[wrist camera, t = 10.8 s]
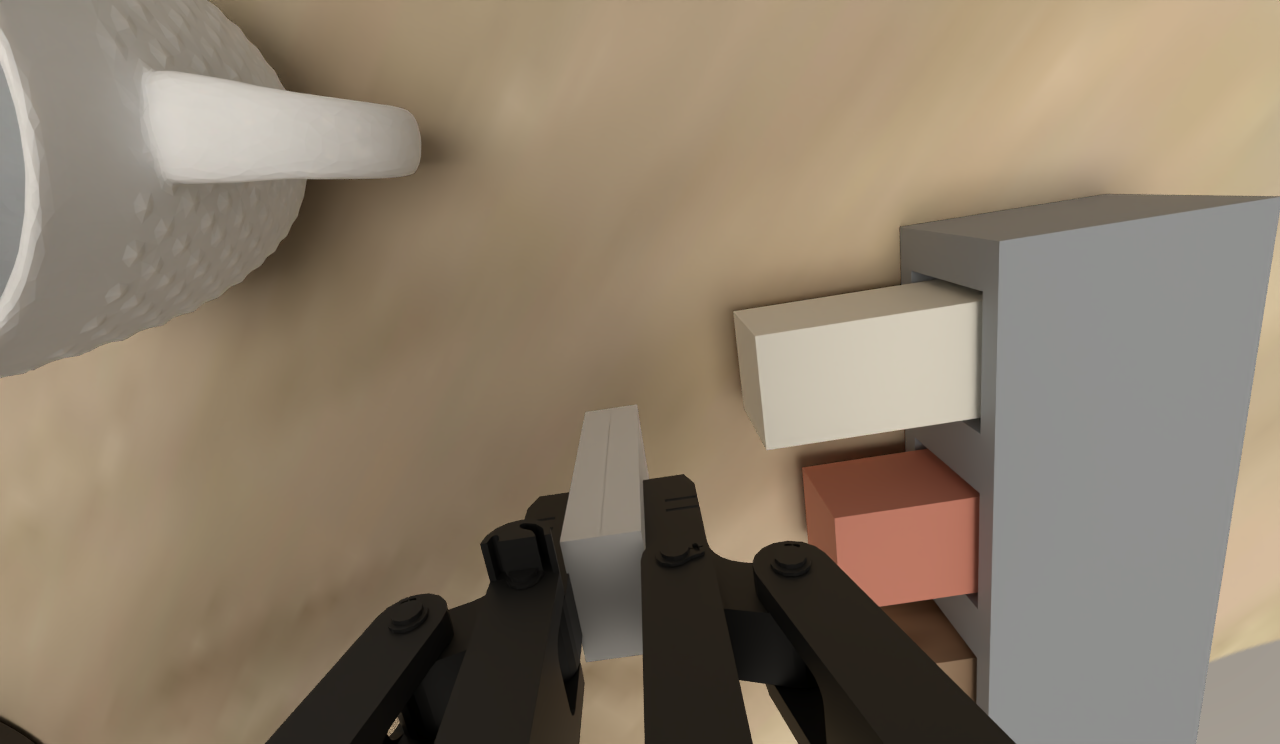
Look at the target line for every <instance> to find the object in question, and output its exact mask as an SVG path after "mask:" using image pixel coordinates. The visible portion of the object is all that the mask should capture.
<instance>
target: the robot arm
mask: <svg viewBox="0 0 1280 744" xmlns="http://www.w3.org/2000/svg"><path fill="white" fill-rule="evenodd" d="M480 545H481V549H482V553H483V557H484V560H485V564H486V568H487V572H488V575H489V579H490V584H489V587H488V590H487V593H486V595H485V596H483V597H481V598H479V599H477V600H474V601H472V602H470V603H467V604H464V605H461V606H458V607H455V608H453V609H450V610H448V607H447V604H446V601H445V600H444V599H443V598H442V597H441V596H439V595H434V594H421V595H415V596H411V597H409V598H408V597H407V598H405V599H402V600H400V601H399V602H397V603H395V604H394V605H392V606H390V607H388V608H387V609H386V610H385V611H384V612H382V613H381V614H380V615H379V616H378V617H377V618H376V619H375V620H374V621H373V622H372V624H371V625H370V626H369V627H368V628H367V629H366V630H365V631H364V633H363V634H362V635H361V636H360V637H359V638H358V639H357V640H356V642H355V643H354V644H353V645H352V646H351V647H350V648H349V649H348V651H347V652H346V653H345V654H344V655H343V656H342V657H341V659H340V660H339V661H338V662H337V663H336V664H335V665H334V666H333V668H332V669H331V670H330V671H329V672H328V673H327V674H326V675H325V677H324V678H323V679H322V680H321V681H320V682H319V683H318V684H317V686H316V687H315V688H314V689H313V690H312V691H311V692H310V693H309V695H308V696H307V697H306V698H305V699H304V700H303V701H302V702H301V704H300V705H299V706H298V707H297V708H296V709H295V710H294V712H293V713H292V714H291V715H290V716H289V717H288V718H287V719H286V721H285V722H284V723H283V724H282V725H281V726H280V727H279V728H278V730H277V731H276V732H275V733H274V734H273V735H272V736H271V737H270V739H269V740H268V741H267V742H266V743H265V744H579V740H580V729H581V718H582V706H583V695H584V684H585V683H584V677H583V672H582V668H581V663H580V655H581V645H582V646H583V650H584V655H585V659H586V662H591V661H599V660H606V659H613V658H621V657H628V656H635V655H643V685H644V728H645V744H753V743H752V738H751V733H750V729H749V724H748V720H747V715H746V710H745V706H744V701H743V697H742V692H741V687H740V683H739V680H743V681H750V682H757V683H764V684H766V686H767V689H768V692H769V695H770V697H771V698H772V700H773V702H774V703H775V705H776V707H777V708H778V710H779V712H780V714H781V715H782V717H783V719H784V720H785V722H786V724H787V725H788V727H789V729H790V730H791V732H792V734H793V735H794V737H795V739H796V740H797V742H798V744H1016V743H1015V742H1014V741H1013V740H1012V739H1011V738H1010V737H1009V736H1008V735H1007V734H1006V733H1005V732H1004V731H1003V730H1002V729H1001V728H1000V727H999V726H998V725H997V724H996V723H995V722H994V721H993V720H992V719H991V718H990V717H989V716H988V715H987V714H986V713H985V712H984V711H983V710H982V709H981V708H980V707H979V706H978V705H977V704H976V703H975V702H974V701H973V700H972V699H971V698H970V697H969V696H968V695H967V694H966V693H965V692H964V691H963V690H962V689H961V688H960V687H959V686H958V685H957V684H956V683H955V682H954V681H953V680H952V679H951V678H950V677H949V676H948V675H947V674H946V673H945V672H944V671H943V670H942V669H941V668H940V667H939V666H938V665H937V664H936V663H935V662H934V661H933V660H932V659H931V658H930V657H929V656H928V655H927V654H926V653H925V652H924V651H923V650H922V649H921V648H920V647H919V646H918V645H917V644H916V643H915V642H914V641H913V640H912V639H911V638H910V637H909V636H908V635H907V634H906V633H905V632H904V631H903V630H902V629H901V628H900V627H899V626H898V625H897V624H896V623H895V622H894V621H893V620H892V619H891V618H890V617H889V616H888V615H887V614H886V613H885V612H884V611H883V610H882V609H881V608H880V607H879V606H878V605H877V604H876V603H875V602H874V601H873V600H872V599H871V598H870V597H869V596H868V595H867V594H866V593H865V592H864V591H863V590H862V589H861V588H860V587H859V586H858V585H857V584H856V583H855V582H854V581H853V580H852V579H851V578H850V577H849V576H848V575H847V574H846V573H845V572H844V571H843V570H842V569H841V568H840V567H839V566H838V565H837V564H836V563H835V562H834V561H833V560H832V559H831V558H830V557H829V556H828V555H827V554H826V553H825V552H823V551H822V550H820V549H819V548H817V547H816V546H814V545H810V544H807V543H804V542H796V541H784V542H778V543H773V544H771V545H769V546H766V547H764V548H762V549H761V550H760V551H759V552H758V553H757V554H756V555H755V557H754V560H753V563H744V562H737V561H731V560H728V559H725V558H722V557H720V556H719V555H717V554H715V553H714V552H713V551H712V550H711V549H710V548H709V545H708V543H707V539H706V535H705V530H704V526H703V521H702V516H701V512H700V507H699V502H698V498H697V493H696V489H695V484H694V483H693V482H692V481H691V480H690V479H689V478H687V477H686V476H685V475H684V474H682V475H675V476H668V477H661V478H654V479H649V475H648V469H647V462H646V456H645V450H644V444H643V438H642V432H641V426H640V419H639V413H638V407H637V405H630V406H623V407H616V408H609V409H603V410H596V411H589V412H585V416H584V421H583V427H582V432H581V437H580V442H579V447H578V452H577V457H576V462H575V467H574V472H573V477H572V482H571V487H570V492H568V493H561V494H554V495H547V496H540V497H539V498H538V499H537V500H536V501H535V502H534V503H533V504H532V505H531V506H530V507H529V508H528V510H527V513H526V516H525V519H524V520H519V521H515V522H511V523H508V524H505V525H503V526H501V527H499V528H497V529H495V530H494V531H492V532H491V533H490V534H488V535H487V536H486V537H485V538H484V540H483V541H482V542H481V544H480ZM397 717H398V718H399V721H400V723H399V725H398V726H397V728H396V729H395V731H394V732H393V733H392V734H391V735H390V736H388V735H387V732H388V730H389V728H390V727H391V725H392V724H393V722H394V721H395V719H396V718H397ZM0 744H35V743H33V742H32V741H30V740H29V739H28V738H26V737H25V736H23V735H22V734H20V733H19V732H17V731H16V730H14V729H12V728H10V727H9V726H7V725H5V724H3V723H1V722H0Z"/></svg>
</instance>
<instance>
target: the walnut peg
mask: <svg viewBox="0 0 1280 744" xmlns="http://www.w3.org/2000/svg"><path fill="white" fill-rule="evenodd" d="M880 608H881V609H882V610H883V611H884V612H885V613H886V614H887V615H888V616H889V617H890V618H891V619H892V620H893V621H894V622H895V623H896V624H897V625H898V626H899V627H900V628H901V629H902V630H903V631H904V632H905V633H906V634H907V635H908V636H909V637H910V638H911V639H912V640H913V641H914V642H915V643H916V644H917V645H918V646H919V647H920V648H921V649H922V650H923V651H924V652H925V653H926V654H927V655H928V656H929V657H930V658H931V659H932V660H933V661H934V662H935V663H936V664H937V665H938V666H939V667H940V668H941V669H942V670H943V671H944V672H945V673H946V674H947V675H948V676H949V677H950V678H951V679H952V680H953V681H954V682H955V683H956V684H957V685H958V686H959V687H960V688H961V689H962V690H963V691H964V692H965V693H966V694H967V695H968V696H969V697H970V698H971V699H972V700H973V701H974V702H975V703H976V698H977V657H976V656H975V654H974V653H973V652H972V650H971V649H970V648H969V646H968V645H967V644H966V642H965V641H964V640H963V638H962V637H961V636H960V634H959V633H958V632H957V630H956V629H955V628H954V626H953V625H952V624H951V622H950V621H949V620H948V618H947V617H946V616H945V614H944V613H943V612H942V610H941V609H940V608H939V606H938V605H937V604H936V602H935V601H934V600H933V599H929V600H922V601H915V602H908V603H901V604H895V605H888V606H881V607H880Z"/></svg>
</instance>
